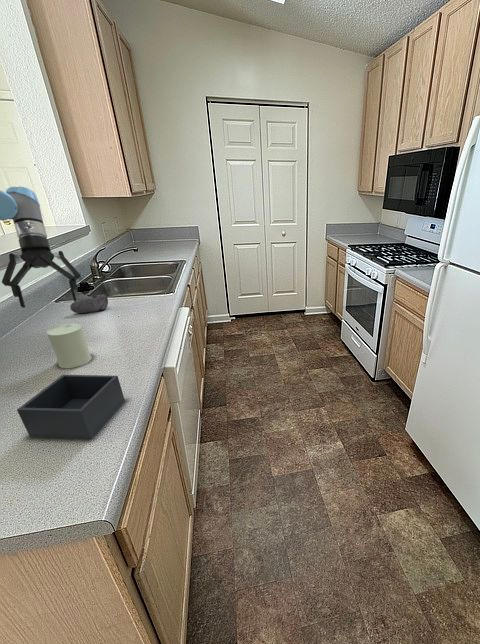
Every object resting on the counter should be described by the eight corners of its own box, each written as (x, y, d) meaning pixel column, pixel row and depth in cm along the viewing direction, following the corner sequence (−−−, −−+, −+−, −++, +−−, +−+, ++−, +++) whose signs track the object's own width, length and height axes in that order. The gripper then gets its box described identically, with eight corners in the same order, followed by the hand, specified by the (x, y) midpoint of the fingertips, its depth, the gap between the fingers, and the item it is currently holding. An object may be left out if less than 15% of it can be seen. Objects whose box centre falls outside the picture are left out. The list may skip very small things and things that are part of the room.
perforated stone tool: (72, 316, 144) (67, 301, 141) (72, 312, 148) (67, 298, 145) (110, 310, 151) (106, 295, 148) (110, 307, 155) (106, 292, 152)
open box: (30, 437, 76) (16, 409, 72) (72, 399, 89) (62, 374, 85) (91, 439, 75) (80, 411, 72) (125, 401, 88) (117, 375, 85)
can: (96, 353, 113) (85, 320, 107) (85, 367, 105) (73, 332, 99) (66, 355, 111) (54, 323, 106) (53, 369, 103) (39, 334, 98)
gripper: (-23, 235, 96) (-4, 307, 96) (78, 232, 109) (94, 295, 109) (-16, 244, 102) (2, 311, 102) (79, 241, 115) (94, 300, 116)
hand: (50, 303), depth 106 cm, fingers open, 13 cm apart
